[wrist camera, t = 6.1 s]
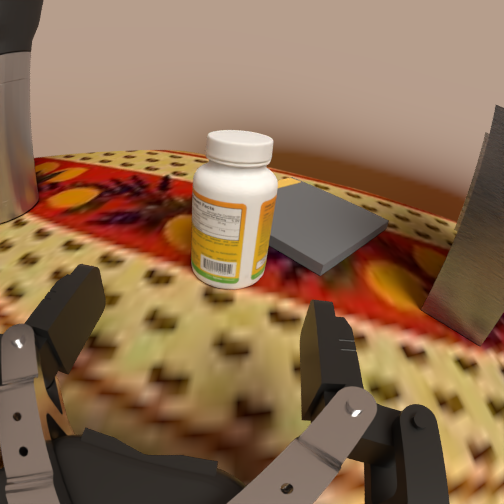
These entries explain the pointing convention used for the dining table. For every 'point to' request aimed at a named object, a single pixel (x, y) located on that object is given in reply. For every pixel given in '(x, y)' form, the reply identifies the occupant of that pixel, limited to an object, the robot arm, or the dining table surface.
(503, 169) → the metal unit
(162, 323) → the dining table surface
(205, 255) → the supplement bottle
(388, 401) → the dining table surface
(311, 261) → the mat
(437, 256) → the dining table surface
